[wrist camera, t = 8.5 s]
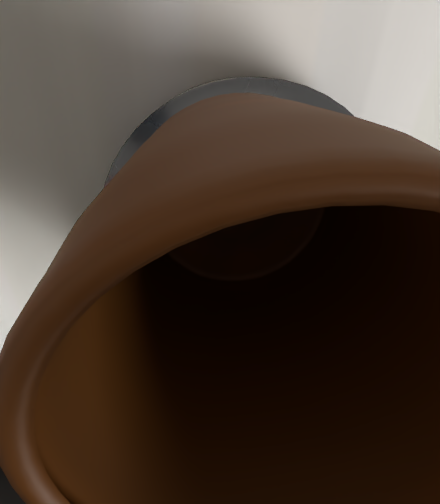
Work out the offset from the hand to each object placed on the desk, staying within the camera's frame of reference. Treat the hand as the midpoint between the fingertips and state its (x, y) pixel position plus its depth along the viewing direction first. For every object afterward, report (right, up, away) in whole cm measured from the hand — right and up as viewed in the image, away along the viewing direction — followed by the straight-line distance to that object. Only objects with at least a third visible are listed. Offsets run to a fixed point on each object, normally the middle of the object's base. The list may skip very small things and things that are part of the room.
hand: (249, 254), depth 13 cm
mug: (-1, 0, +1) cm, 1 cm away
